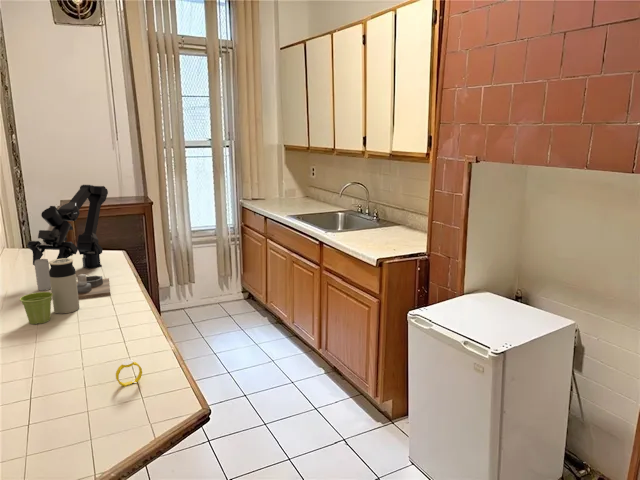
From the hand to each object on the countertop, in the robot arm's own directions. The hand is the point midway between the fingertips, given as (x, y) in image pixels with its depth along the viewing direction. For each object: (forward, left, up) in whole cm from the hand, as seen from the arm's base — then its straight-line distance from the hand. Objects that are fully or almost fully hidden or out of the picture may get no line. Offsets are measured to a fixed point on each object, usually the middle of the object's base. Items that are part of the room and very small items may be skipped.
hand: (44, 265), depth 189 cm
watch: (+13, +97, -10) cm, 98 cm away
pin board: (-10, +15, -9) cm, 20 cm away
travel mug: (+4, +32, -10) cm, 34 cm away
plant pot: (+14, +36, -10) cm, 40 cm away
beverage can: (+1, +1, -10) cm, 10 cm away
